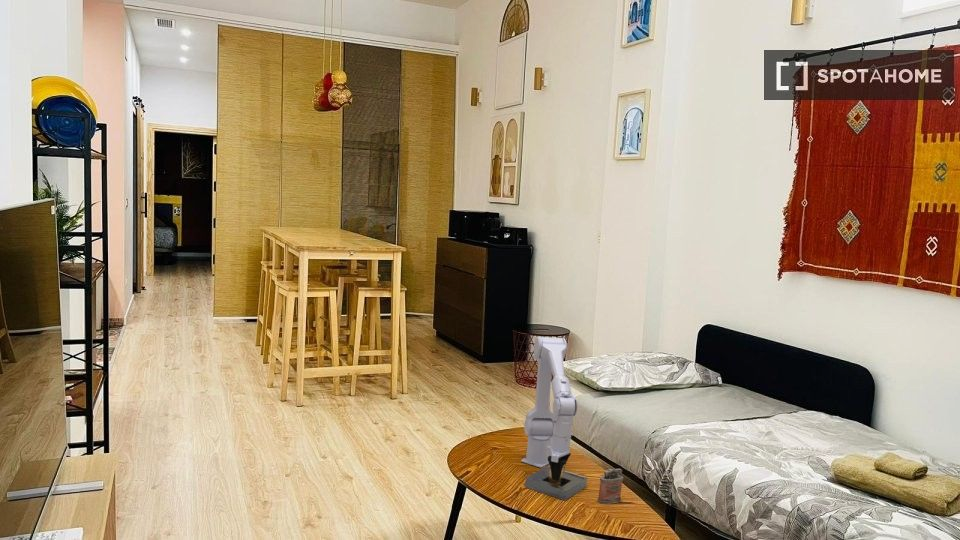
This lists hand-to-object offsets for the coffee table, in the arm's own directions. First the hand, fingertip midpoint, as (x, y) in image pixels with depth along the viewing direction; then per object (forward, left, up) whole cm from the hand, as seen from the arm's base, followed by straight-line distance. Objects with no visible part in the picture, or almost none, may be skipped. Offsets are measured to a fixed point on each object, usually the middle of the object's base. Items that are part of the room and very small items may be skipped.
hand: (557, 477), depth 228 cm
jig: (-2, -1, -4) cm, 5 cm away
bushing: (0, -1, -3) cm, 4 cm away
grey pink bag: (-4, +16, -4) cm, 17 cm away
